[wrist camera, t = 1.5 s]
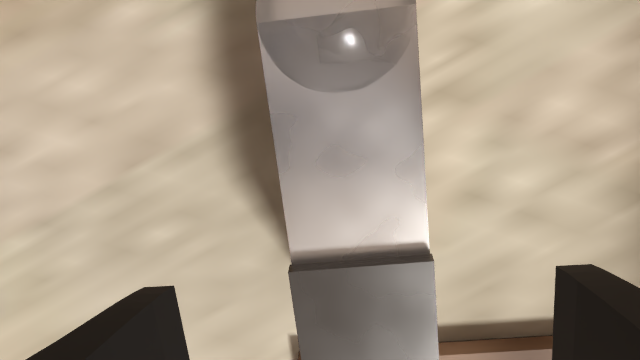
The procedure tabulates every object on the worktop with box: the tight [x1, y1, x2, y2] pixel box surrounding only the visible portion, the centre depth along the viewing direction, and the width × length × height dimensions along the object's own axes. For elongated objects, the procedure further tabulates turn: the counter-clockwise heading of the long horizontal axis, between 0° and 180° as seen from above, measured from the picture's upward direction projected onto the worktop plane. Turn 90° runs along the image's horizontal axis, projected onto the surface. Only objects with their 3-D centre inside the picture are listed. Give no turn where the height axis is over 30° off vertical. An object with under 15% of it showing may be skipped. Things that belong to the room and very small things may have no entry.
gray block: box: [256, 0, 439, 360], centre depth 16 cm, size 4×13×6 cm, turn 6°
